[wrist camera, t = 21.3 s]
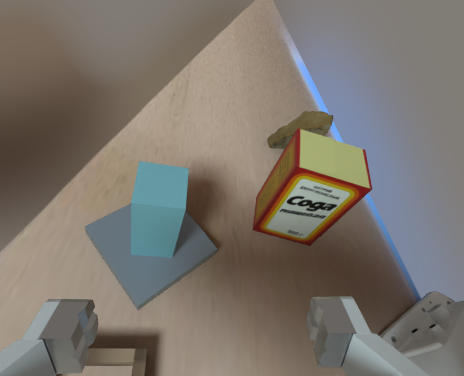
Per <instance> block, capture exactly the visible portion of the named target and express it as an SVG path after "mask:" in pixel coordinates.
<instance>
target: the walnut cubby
mask: <svg viewBox="0 0 464 376" xmlns="http://www.w3.org/2000/svg"><path fill="white" fill-rule="evenodd" d="M88 351H89V356H88V359H87V361H86V364H85V366H133V369H132V376H144V374H145V366H146V357H147V349H106V348H88Z"/></svg>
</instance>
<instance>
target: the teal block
mask: <svg viewBox="0 0 464 376" xmlns="http://www.w3.org/2000/svg"><path fill="white" fill-rule="evenodd" d="M188 171H189V168H182V167H175V166H169V165H162V164H155V163H148V162H141V161H139V166H138V171H137V176H136V181H135V186H134V191H133V196H132V201H131V255H142V256H155V257H168V258H172V257H173V253H174V249H175V246H176V242H177V239H178V235H179V231H180V228H181V224H182V221H183V217H184V213H185V210H186V198H187V185H188Z"/></svg>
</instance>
